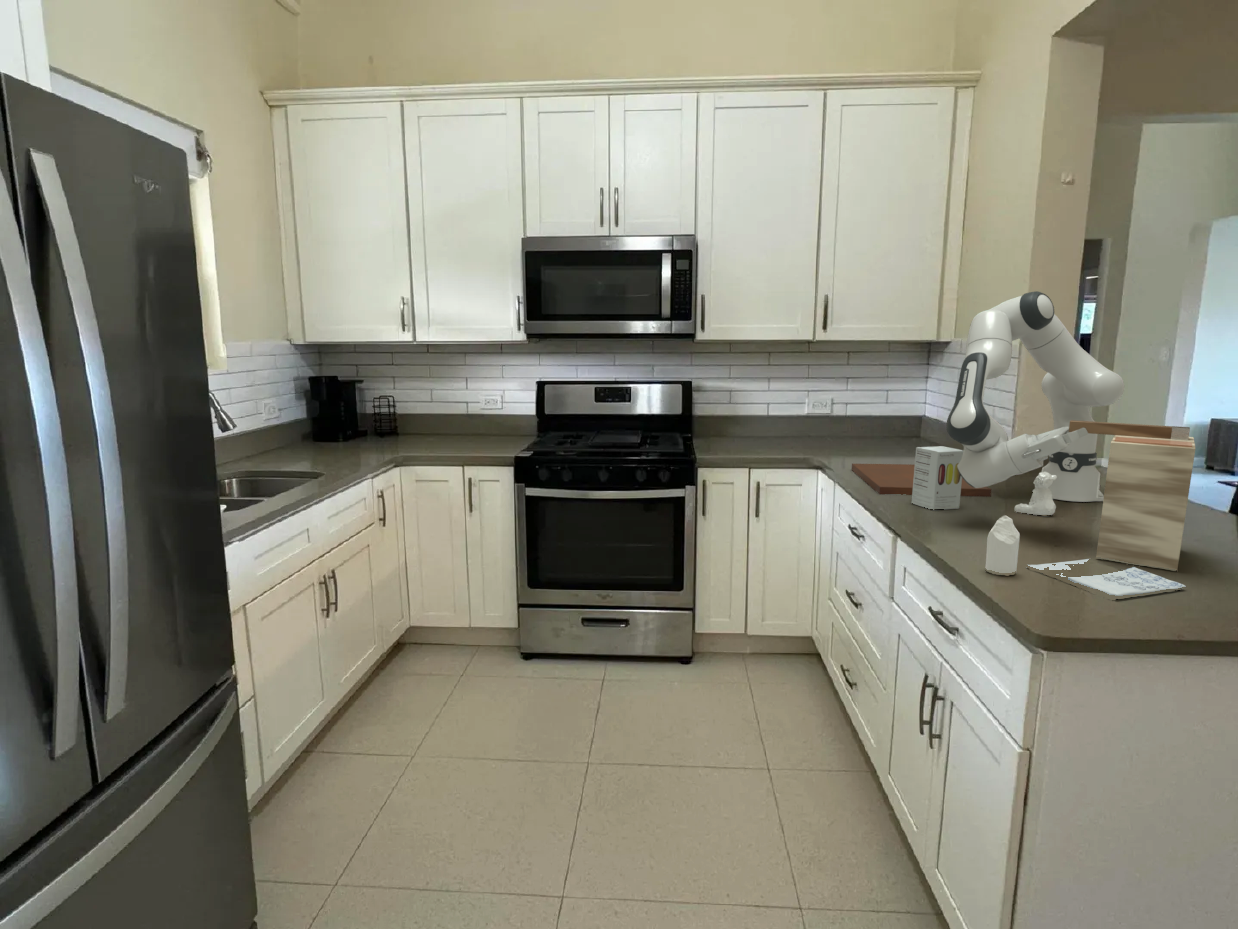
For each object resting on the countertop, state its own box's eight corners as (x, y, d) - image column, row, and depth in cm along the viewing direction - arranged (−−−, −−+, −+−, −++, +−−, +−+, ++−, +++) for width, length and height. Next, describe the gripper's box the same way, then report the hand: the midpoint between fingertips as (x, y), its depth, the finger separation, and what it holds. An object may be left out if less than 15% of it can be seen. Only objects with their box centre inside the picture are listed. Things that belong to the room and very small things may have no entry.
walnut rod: (1070, 430, 167) (1071, 419, 167) (1188, 438, 154) (1189, 427, 153) (1068, 432, 164) (1069, 421, 164) (1188, 440, 151) (1189, 429, 150)
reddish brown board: (945, 473, 252) (851, 471, 256) (945, 465, 252) (851, 463, 255) (990, 498, 213) (879, 496, 216) (991, 489, 212) (880, 486, 216)
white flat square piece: (1112, 604, 129) (1114, 593, 129) (1022, 570, 148) (1023, 560, 148) (1187, 593, 135) (1189, 583, 134) (1091, 561, 154) (1092, 552, 153)
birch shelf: (1103, 538, 169) (1117, 430, 164) (1176, 549, 160) (1193, 435, 156) (1095, 559, 153) (1110, 440, 149) (1176, 572, 145) (1195, 447, 140)
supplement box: (932, 511, 196) (937, 451, 193) (910, 503, 204) (914, 446, 201) (960, 508, 199) (965, 450, 195) (937, 501, 207) (941, 445, 204)
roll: (998, 520, 140) (983, 513, 146) (993, 576, 143) (978, 567, 148) (1028, 519, 141) (1011, 512, 146) (1022, 576, 143) (1006, 567, 148)
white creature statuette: (1036, 508, 198) (1041, 467, 196) (1065, 515, 190) (1070, 472, 188) (1012, 511, 195) (1016, 469, 193) (1040, 519, 187) (1045, 475, 185)
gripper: (1013, 446, 164) (1077, 420, 156) (1027, 436, 180) (1086, 412, 171) (1026, 470, 163) (1091, 446, 155) (1039, 458, 179) (1099, 435, 171)
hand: (1088, 428), depth 163 cm, fingers open, 8 cm apart
